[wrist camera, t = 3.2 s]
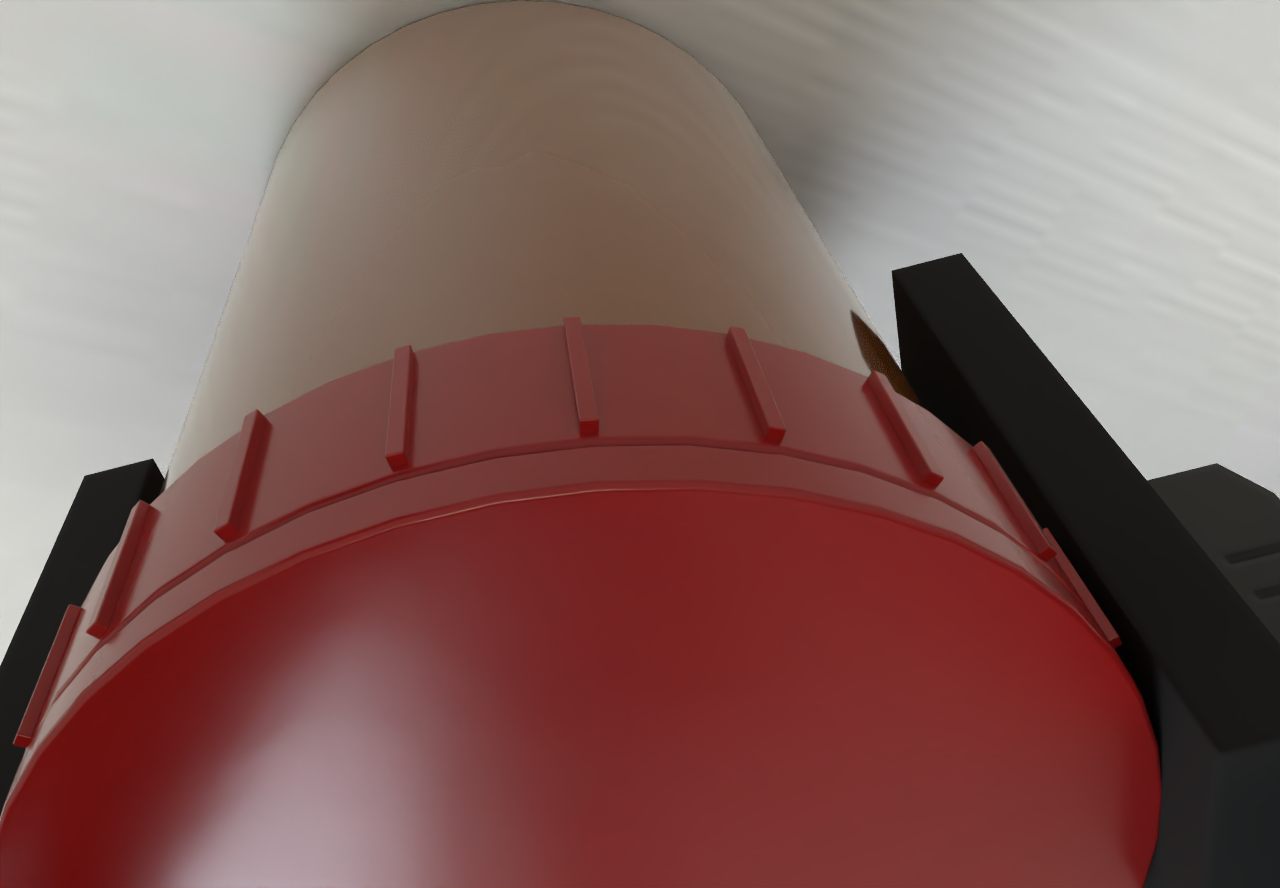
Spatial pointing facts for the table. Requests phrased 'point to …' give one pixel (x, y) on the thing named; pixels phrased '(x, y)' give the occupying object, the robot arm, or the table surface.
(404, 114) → the jar
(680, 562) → the lid
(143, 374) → the table surface
